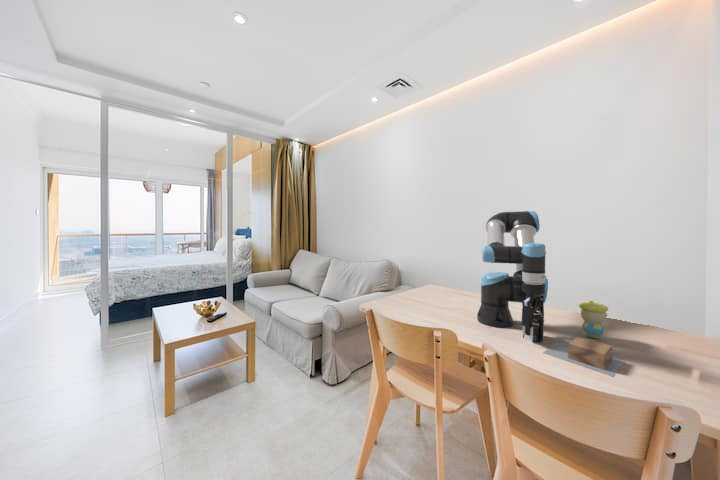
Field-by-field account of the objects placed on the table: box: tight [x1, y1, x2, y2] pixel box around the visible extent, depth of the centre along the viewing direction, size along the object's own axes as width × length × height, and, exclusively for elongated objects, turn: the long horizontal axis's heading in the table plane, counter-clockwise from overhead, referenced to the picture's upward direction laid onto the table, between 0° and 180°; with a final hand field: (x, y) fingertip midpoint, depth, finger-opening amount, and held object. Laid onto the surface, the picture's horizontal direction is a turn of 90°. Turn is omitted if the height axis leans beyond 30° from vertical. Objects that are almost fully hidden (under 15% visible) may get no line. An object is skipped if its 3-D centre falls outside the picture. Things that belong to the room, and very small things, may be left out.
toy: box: [578, 300, 609, 339], centre depth 103 cm, size 8×9×15 cm
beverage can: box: [522, 310, 545, 343], centre depth 101 cm, size 7×7×12 cm
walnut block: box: [567, 336, 613, 370], centre depth 85 cm, size 9×9×5 cm
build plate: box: [542, 341, 626, 378], centre depth 87 cm, size 18×14×1 cm
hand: (532, 339), depth 101 cm, fingers closed on beverage can, 7 cm apart
